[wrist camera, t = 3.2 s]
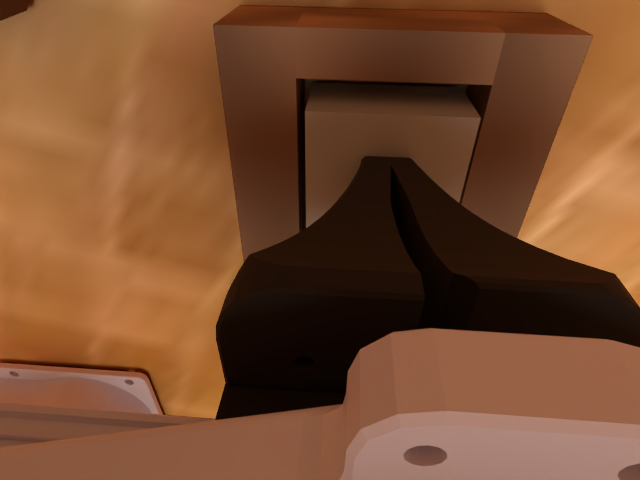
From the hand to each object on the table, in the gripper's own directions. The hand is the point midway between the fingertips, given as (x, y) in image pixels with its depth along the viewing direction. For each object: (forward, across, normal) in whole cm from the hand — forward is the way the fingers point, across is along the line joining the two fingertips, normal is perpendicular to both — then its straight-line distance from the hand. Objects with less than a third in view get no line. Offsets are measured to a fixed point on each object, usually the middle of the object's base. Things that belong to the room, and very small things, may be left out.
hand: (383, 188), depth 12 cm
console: (+4, 0, +9) cm, 10 cm away
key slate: (+2, 0, 0) cm, 2 cm away
